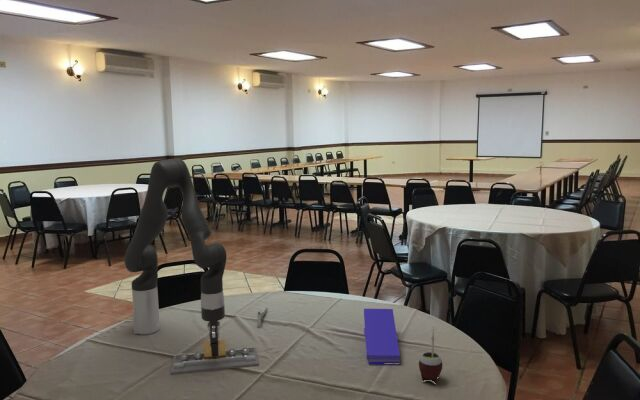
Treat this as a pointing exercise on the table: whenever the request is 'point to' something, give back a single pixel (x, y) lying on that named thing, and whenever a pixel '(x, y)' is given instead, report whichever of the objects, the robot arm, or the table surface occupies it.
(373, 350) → the stapler
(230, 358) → the grey studded track end
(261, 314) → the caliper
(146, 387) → the table surface
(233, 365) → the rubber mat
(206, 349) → the tall wooden block
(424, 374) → the mate gourd
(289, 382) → the table surface
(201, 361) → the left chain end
